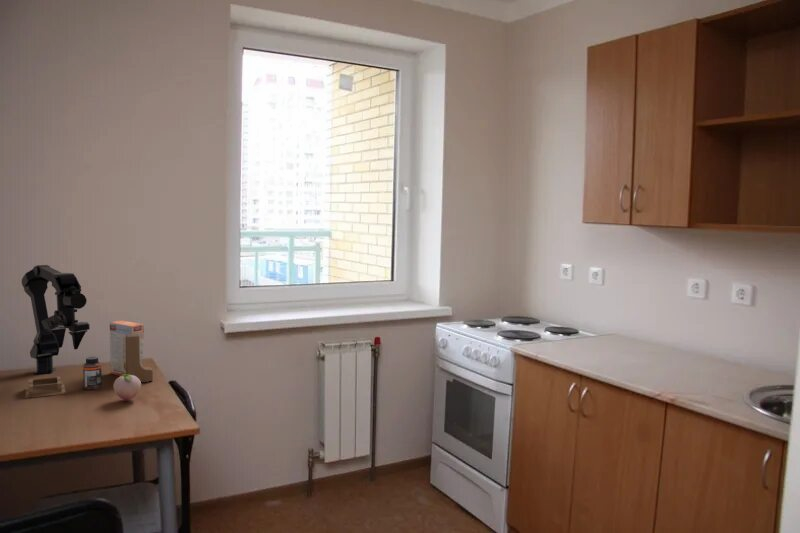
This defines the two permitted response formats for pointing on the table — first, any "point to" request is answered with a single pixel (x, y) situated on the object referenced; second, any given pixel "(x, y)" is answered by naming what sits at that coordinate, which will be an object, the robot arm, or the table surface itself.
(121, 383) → the decorative fruit
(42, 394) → the socket
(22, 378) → the table surface
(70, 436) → the table surface
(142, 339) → the cracker box
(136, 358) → the wooden block
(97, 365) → the supplement bottle
